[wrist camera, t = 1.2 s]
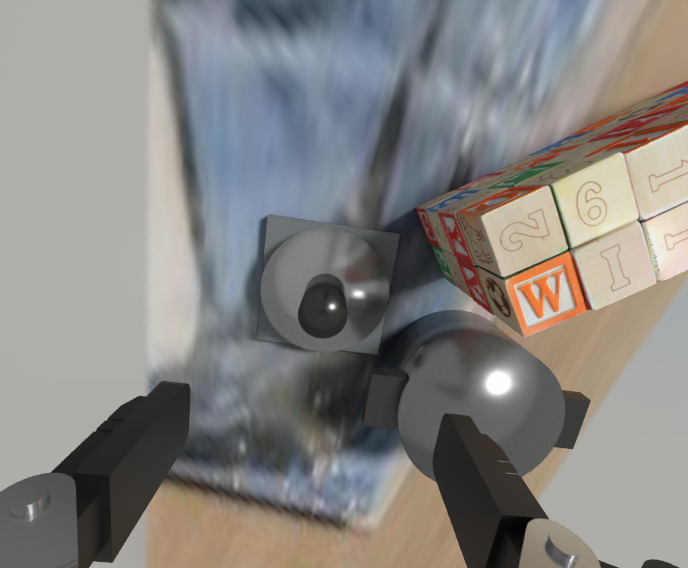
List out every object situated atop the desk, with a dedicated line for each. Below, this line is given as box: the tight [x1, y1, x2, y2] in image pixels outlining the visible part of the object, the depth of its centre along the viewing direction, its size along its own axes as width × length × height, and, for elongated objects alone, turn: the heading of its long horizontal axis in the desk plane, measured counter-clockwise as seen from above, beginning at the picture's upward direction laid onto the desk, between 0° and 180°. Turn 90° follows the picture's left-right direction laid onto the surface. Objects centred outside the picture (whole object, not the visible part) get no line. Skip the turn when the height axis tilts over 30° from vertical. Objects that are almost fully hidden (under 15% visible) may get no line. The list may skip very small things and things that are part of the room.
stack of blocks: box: [416, 81, 688, 338], centre depth 19 cm, size 21×6×12 cm, turn 115°
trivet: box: [257, 215, 400, 355], centre depth 26 cm, size 10×10×1 cm
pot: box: [362, 310, 591, 482], centre depth 25 cm, size 11×15×7 cm
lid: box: [261, 227, 389, 352], centre depth 23 cm, size 10×10×6 cm
